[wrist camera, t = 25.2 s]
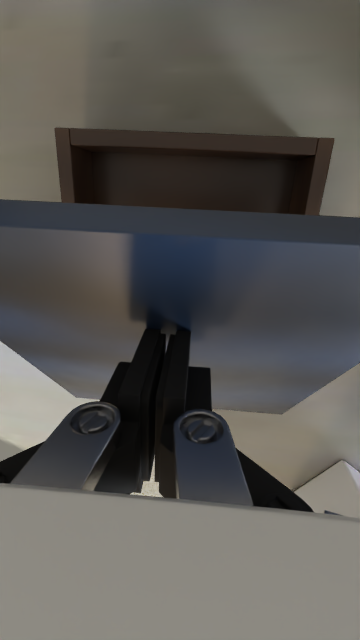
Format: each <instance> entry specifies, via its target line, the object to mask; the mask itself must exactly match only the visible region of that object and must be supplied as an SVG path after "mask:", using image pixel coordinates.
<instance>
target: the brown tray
mask: <svg viewBox="0 0 360 640" xmlns="http://www.w3.org/2000/svg"><path fill="white" fill-rule="evenodd" d="M55 137H56V147H57V158H58V168H59V178H60V188H61V199H62V203H82V204H101V205H121V206H141V207H161V208H180V209H200V210H220V211H240V212H260V213H279V214H299V215H319V212H320V207H321V202H322V197H323V193H324V188H325V183H326V178H327V173H328V168H329V163H330V159H331V154H332V149H333V144H334V138H313V137H287V136H261V135H235V134H210V133H184V132H158V131H132V130H106V129H80V128H70V129H69V128H55Z"/></svg>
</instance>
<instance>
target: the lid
mask: <svg viewBox="0 0 360 640" xmlns="http://www.w3.org/2000/svg"><path fill="white" fill-rule="evenodd" d="M145 329H156V330H160V331H161V334H166V350H167V346H168V341H169V337H170V334H174V335H176V331H188V332H191V343H190V361H189V366H192V367H207V368H210V370H211V398H212V409H222V410H234V411H247V412H259V413H271V414H283V413H284V412H286V411H287V410H289V409H290V408H292V407H293V406H295V405H296V404H298V403H299V402H301V401H303V400H304V399H306V398H307V397H309V396H310V395H312V394H313V393H315V392H316V391H318V390H319V389H321V388H322V387H324V386H325V385H327V384H328V383H330V382H331V381H333V380H334V379H336V378H337V377H339V376H340V375H342V374H343V373H345V372H346V371H348V370H349V369H351V368H353V367H354V366H356V365H357V364H359V363H360V218H358V217H339V216H319V215H299V214H279V213H260V212H240V211H220V210H200V209H180V208H161V207H141V206H121V205H101V204H82V203H62V202H42V201H22V200H3V199H0V341H1V342H3V343H4V344H5V345H7V346H8V347H9V348H11V349H12V350H13V351H15V352H16V353H17V354H19V355H20V356H21V357H23V358H24V359H25V360H27V361H28V362H29V363H31V364H32V365H33V366H35V367H36V368H37V369H39V370H40V371H41V372H43V373H44V374H45V375H47V376H48V377H50V378H51V379H52V380H54V381H55V382H56V383H58V384H59V385H60V386H62V387H63V388H64V389H66V390H67V391H68V392H70V393H71V394H72V395H74V396H75V397H76V398H87V399H101V397H102V395H103V393H104V391H105V389H106V387H107V385H108V383H109V381H110V379H111V377H112V375H113V373H114V371H115V369H116V367H117V365H118V363H119V362H131V361H132V359H133V357H134V354H135V352H136V349H137V347H138V345H139V342H140V340H141V338H142V335H143V333H144V330H145Z"/></svg>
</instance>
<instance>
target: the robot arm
mask: <svg viewBox="0 0 360 640" xmlns="http://www.w3.org/2000/svg"><path fill="white" fill-rule="evenodd" d="M190 343H191V332H188V331H176V335H174V334H170V337H169V341H168V346H167V350H166V334H161V331H160V330H156V329H145V330H144V333H143V335H142V338H141V340H140V342H139V345H138V347H137V349H136V352H135V354H134V357H133V359H132V361H131V362H119V363H118V365H117V367H116V369H115V371H114V373H113V375H112V377H111V379H110V381H109V383H108V385H107V387H106V389H105V391H104V393H103V395H102V397H101V399H100V401H99V402H98V401H97V402H89V403H86V404H82V405H80V406H78V407H76V408H75V409H73V410H72V411H71V412H70V413H69V414H68V415H67V416H66V417H65V418H64V420H63V421H62V422H61V423H60V424H59V425H58V427H57V428H56V429H55V430H54V431H53V433H52V434H51V435H50V436H49V437H48V439H47V440H46V441H44V442H42V443H40V444H38V445H36V446H33V447H31V448H29V449H27V450H25V451H22V452H20V453H18V454H16V455H14V456H12V457H9V458H7V459H5V460H3V461H1V462H0V640H360V518H354V517H348V516H343V515H340V514H337V513H333V512H330V511H326V510H324V513H315V512H314V511H313V510H312V508H311V507H310V506H309V505H308V504H307V503H306V502H305V501H304V500H303V499H302V498H300V497H299V496H298V495H296V494H295V493H294V492H292V491H291V490H290V489H288V488H287V487H286V486H285V485H283V484H282V483H281V482H279V481H278V480H277V479H275V478H274V477H273V476H272V475H270V474H269V473H268V472H266V471H265V470H264V469H262V468H261V467H260V466H259V465H257V464H256V463H255V462H253V461H252V460H251V459H249V458H248V457H247V456H246V455H244V454H243V453H242V452H240V451H239V450H238V449H236V448H235V445H234V442H233V438H232V435H231V432H230V429H229V426H228V424H227V422H226V421H225V420H224V419H223V418H222V417H221V416H220V415H218V414H216V413H215V412H212V398H211V370H210V368H207V367H192V366H189V361H190ZM154 455H155V482H159V493H160V494H161V495H162V496H163V497H164V498H163V497H152V496H141V495H130V494H131V493H132V492H136V493H141V489H142V484H143V481H150V477H151V472H152V466H153V461H154Z"/></svg>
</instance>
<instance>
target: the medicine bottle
mask: <svg viewBox="0 0 360 640" xmlns="http://www.w3.org/2000/svg"><path fill="white" fill-rule="evenodd" d="M294 493H295V494H296V495H298V496H299V497H300V498H302V499H303V500H304V501H305V502H306V503H307V504H308V505H309V506H310V507H311V508H312V510H313V511H314V512H315V513H324V510H326V511H330V512H333V513H337V514H340V515H343V516H348V517H354V518H360V473H359V472H358V471H357V470H356V469H354V468H353V467H352V466H351V465H349V464H348V463H347V462H345V461H339V462H338V463H336V464H335V465H333V466H332V467H330V468H329V469H327V470H326V471H324V472H323V473H321V474H320V475H318V476H317V477H315V478H314V479H312V480H311V481H309V482H308V483H306V484H305V485H303V486H302V487H300V488H299V489H297V490H296V491H294Z"/></svg>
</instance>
